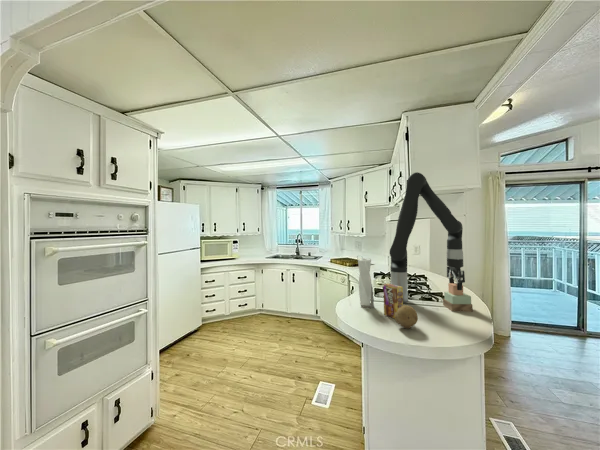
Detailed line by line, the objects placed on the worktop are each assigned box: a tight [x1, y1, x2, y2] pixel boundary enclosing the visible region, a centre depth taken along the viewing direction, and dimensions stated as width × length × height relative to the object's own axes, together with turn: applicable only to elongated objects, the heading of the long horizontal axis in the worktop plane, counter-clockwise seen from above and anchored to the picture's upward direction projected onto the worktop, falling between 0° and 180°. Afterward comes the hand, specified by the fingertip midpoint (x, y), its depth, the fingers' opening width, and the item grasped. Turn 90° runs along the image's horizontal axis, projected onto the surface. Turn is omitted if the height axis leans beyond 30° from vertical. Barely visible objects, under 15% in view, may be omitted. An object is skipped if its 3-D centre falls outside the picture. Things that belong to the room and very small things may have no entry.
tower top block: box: [443, 291, 472, 304], centre depth 134 cm, size 9×9×4 cm
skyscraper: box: [356, 255, 375, 309], centre depth 143 cm, size 8×8×28 cm
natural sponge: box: [394, 304, 419, 330], centre depth 110 cm, size 9×9×10 cm
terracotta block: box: [447, 282, 464, 295], centre depth 135 cm, size 5×5×5 cm
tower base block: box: [442, 298, 474, 313], centre depth 135 cm, size 10×10×4 cm
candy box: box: [383, 283, 404, 319], centre depth 125 cm, size 9×4×15 cm, turn 26°
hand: (455, 288), depth 135 cm, fingers open, 8 cm apart
